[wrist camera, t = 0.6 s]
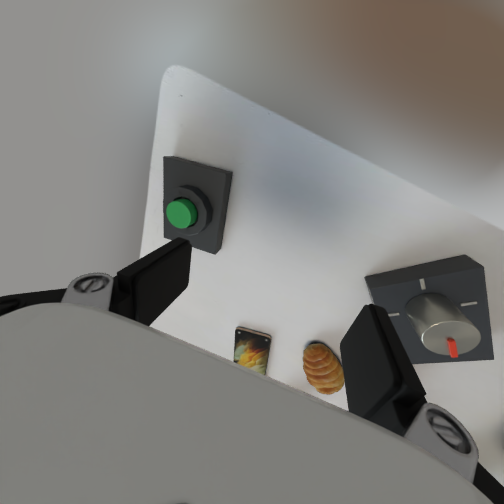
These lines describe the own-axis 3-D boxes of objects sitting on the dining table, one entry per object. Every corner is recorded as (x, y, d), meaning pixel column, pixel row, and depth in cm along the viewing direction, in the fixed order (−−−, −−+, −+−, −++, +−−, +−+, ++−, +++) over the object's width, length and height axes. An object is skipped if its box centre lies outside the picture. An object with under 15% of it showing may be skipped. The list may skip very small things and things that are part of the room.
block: (173, 156, 28) (153, 156, 25) (232, 172, 27) (220, 174, 24) (172, 232, 34) (155, 241, 31) (220, 248, 33) (209, 260, 29)
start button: (174, 195, 27) (166, 197, 25) (198, 202, 26) (191, 205, 25) (173, 220, 28) (166, 224, 27) (196, 227, 28) (190, 231, 26)
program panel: (364, 276, 28) (369, 289, 26) (465, 254, 24) (485, 267, 21) (387, 348, 32) (394, 366, 30) (477, 340, 28) (495, 360, 25)
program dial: (401, 297, 25) (419, 326, 21) (450, 289, 23) (480, 319, 19) (408, 326, 26) (427, 359, 22) (455, 320, 24) (485, 356, 20)
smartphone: (271, 338, 37) (263, 386, 44) (272, 335, 38) (263, 383, 44) (235, 328, 39) (232, 376, 45) (236, 325, 39) (233, 373, 46)
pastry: (294, 342, 37) (293, 360, 34) (332, 338, 34) (334, 357, 31) (310, 376, 40) (310, 396, 36) (347, 375, 37) (350, 397, 34)
